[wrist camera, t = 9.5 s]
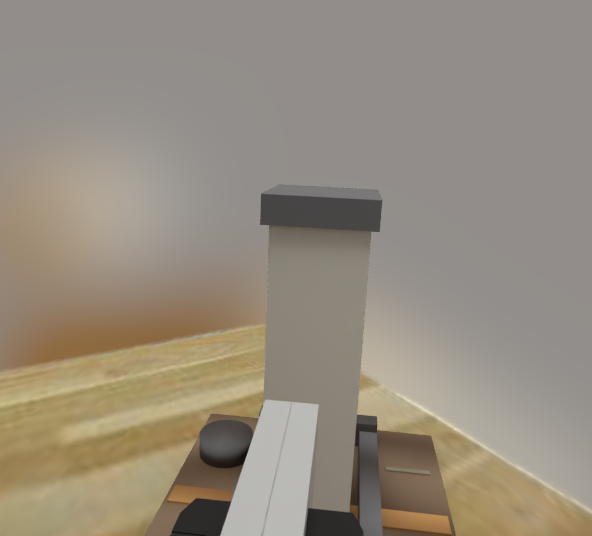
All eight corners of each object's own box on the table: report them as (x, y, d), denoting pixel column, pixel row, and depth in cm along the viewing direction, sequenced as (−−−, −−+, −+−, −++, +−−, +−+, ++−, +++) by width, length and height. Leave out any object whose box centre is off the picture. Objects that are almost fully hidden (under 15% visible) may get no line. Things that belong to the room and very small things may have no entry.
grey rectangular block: (353, 542, 23) (382, 200, 19) (252, 530, 24) (261, 193, 20) (354, 478, 28) (377, 189, 24) (269, 468, 28) (278, 184, 24)
